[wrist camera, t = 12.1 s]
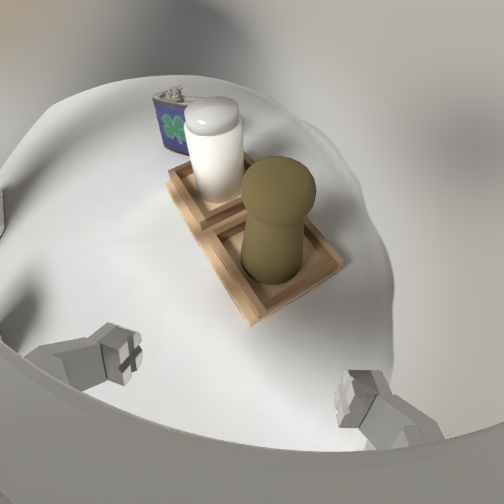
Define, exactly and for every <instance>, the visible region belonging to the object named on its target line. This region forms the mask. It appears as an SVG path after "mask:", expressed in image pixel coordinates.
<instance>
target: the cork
mask: <svg viewBox="0 0 504 504" xmlns="http://www.w3.org/2000/svg"><path fill="white" fill-rule="evenodd" d="M315 196H316V185H315V181H314V178H313V176H312V174H311V173H310V172H309V170H308V169H307V167H305V166H304V165H303V164H302V163H300V162H298V161H296V160H294V159H292V158H287V157H283V156H271V157H266V158H262V159H260V160H258V161H256V162H255V163H254V164H253V165H251V166H250V167H249V168H248V170H247V171H246V172H245V174H244V177H243V179H242V182H241V198H242V201H243V203H244V205H245V208H246V210H247V212H248V213H247V219H246V225H245V230H244V236H243V242H242V248H241V264H242V267H243V270H244V271H245V272H246V274H247V275H248V276H249V277H250V278H252V279H253V280H255V281H256V282H258V283H261V284H265V285H280V284H283V283H286V282H288V281H290V280H291V279H292V278H294V277H295V276H296V275H297V273H298V272H299V270H300V268H301V264H302V259H303V237H304V218H305V217H306V215H307V214H308V212H309V211H310V210H311V208H312V207H313V205H314V201H315Z"/></svg>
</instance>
